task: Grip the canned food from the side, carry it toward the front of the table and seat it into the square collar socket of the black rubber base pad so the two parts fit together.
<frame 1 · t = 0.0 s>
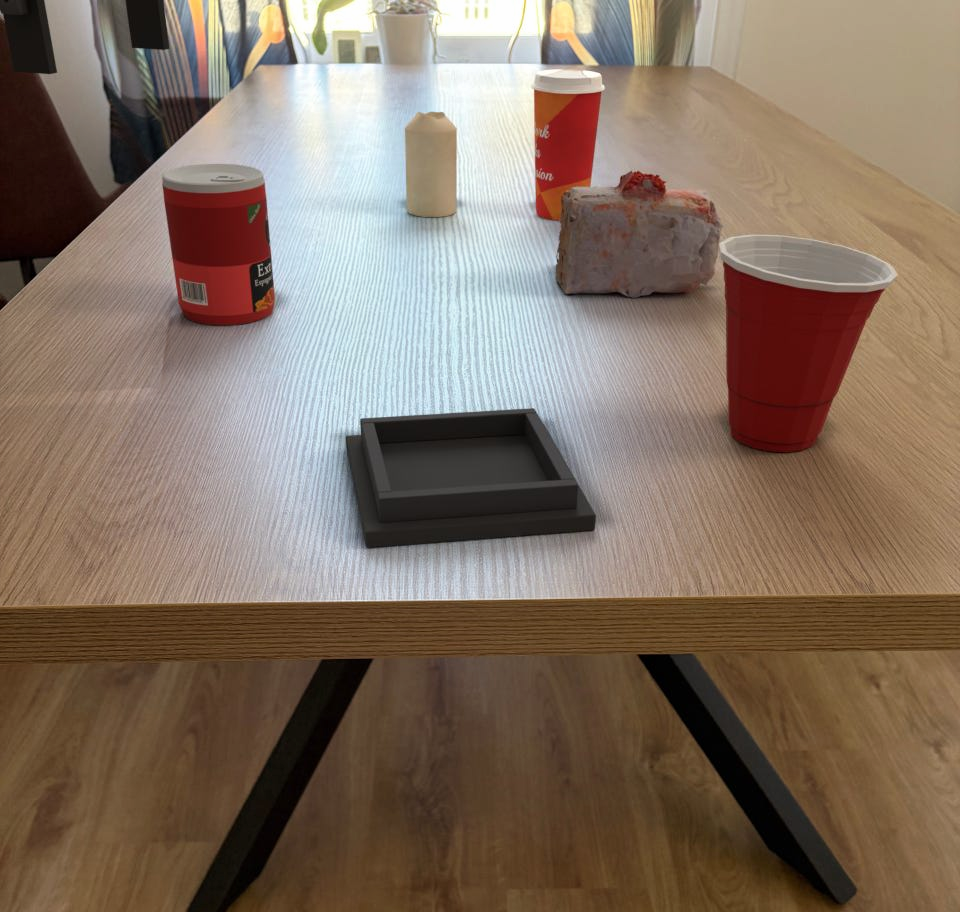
hand: (97, 60, 77), 20 cm above the table, tool pointing down, fingers open, 13 cm apart
base pad: (462, 487, 68), on the table
plastic cup: (775, 437, 75), on the table
paper cup: (561, 216, 124), on the table
canned food: (228, 314, 94), on the table
candle: (431, 213, 124), on the table
food item: (632, 289, 102), on the table
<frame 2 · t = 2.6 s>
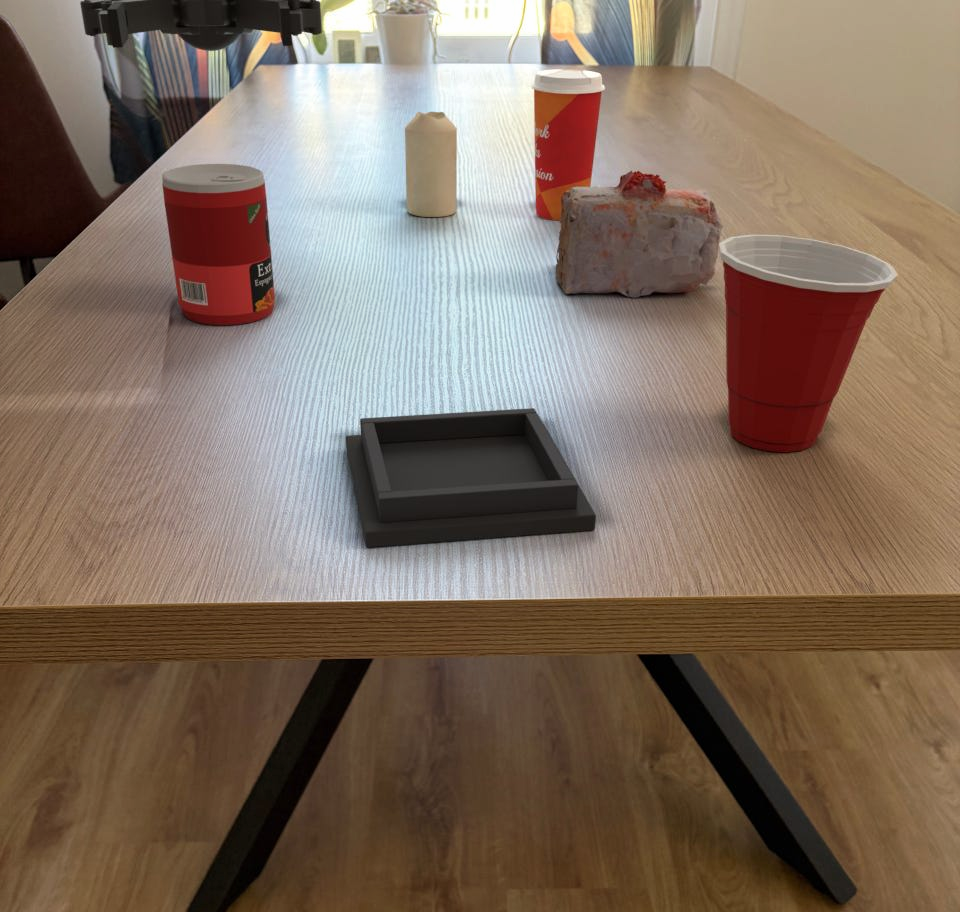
hand: (201, 28, 91), 20 cm above the table, tool horizontal, fingers open, 13 cm apart
nothing on the table moved.
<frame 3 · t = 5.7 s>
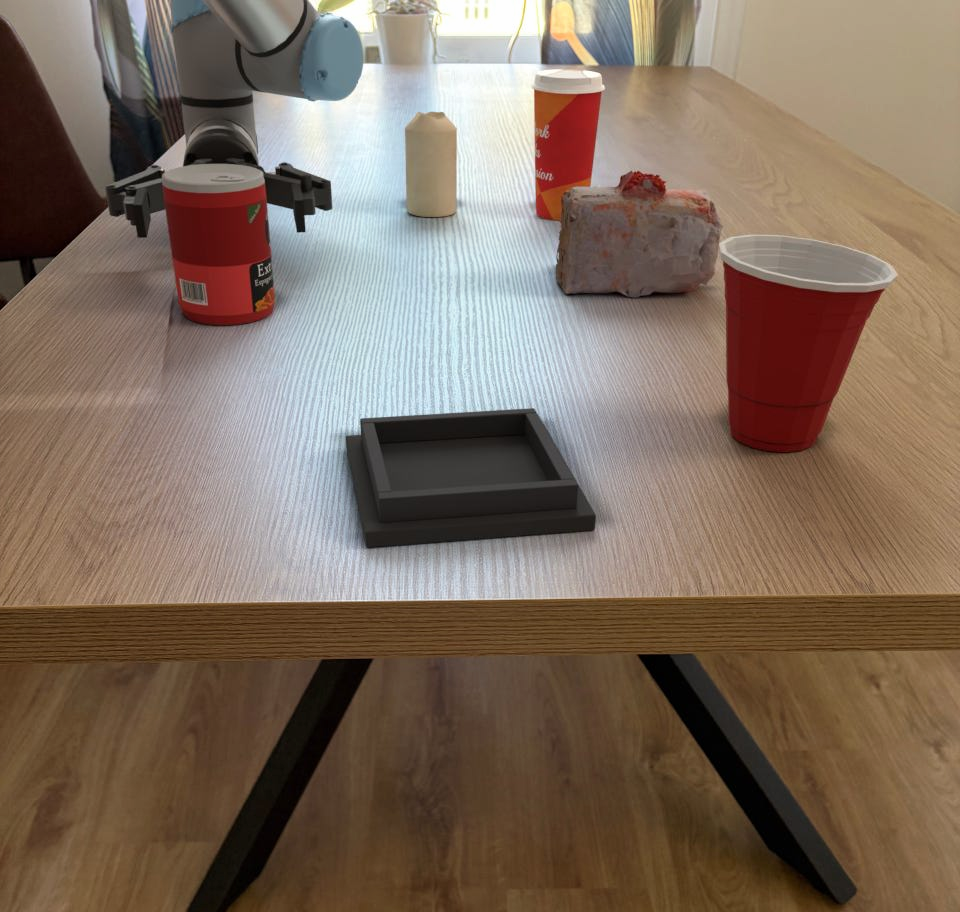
hand: (220, 219, 97), 6 cm above the table, tool horizontal, fingers open, 13 cm apart
nothing on the table moved.
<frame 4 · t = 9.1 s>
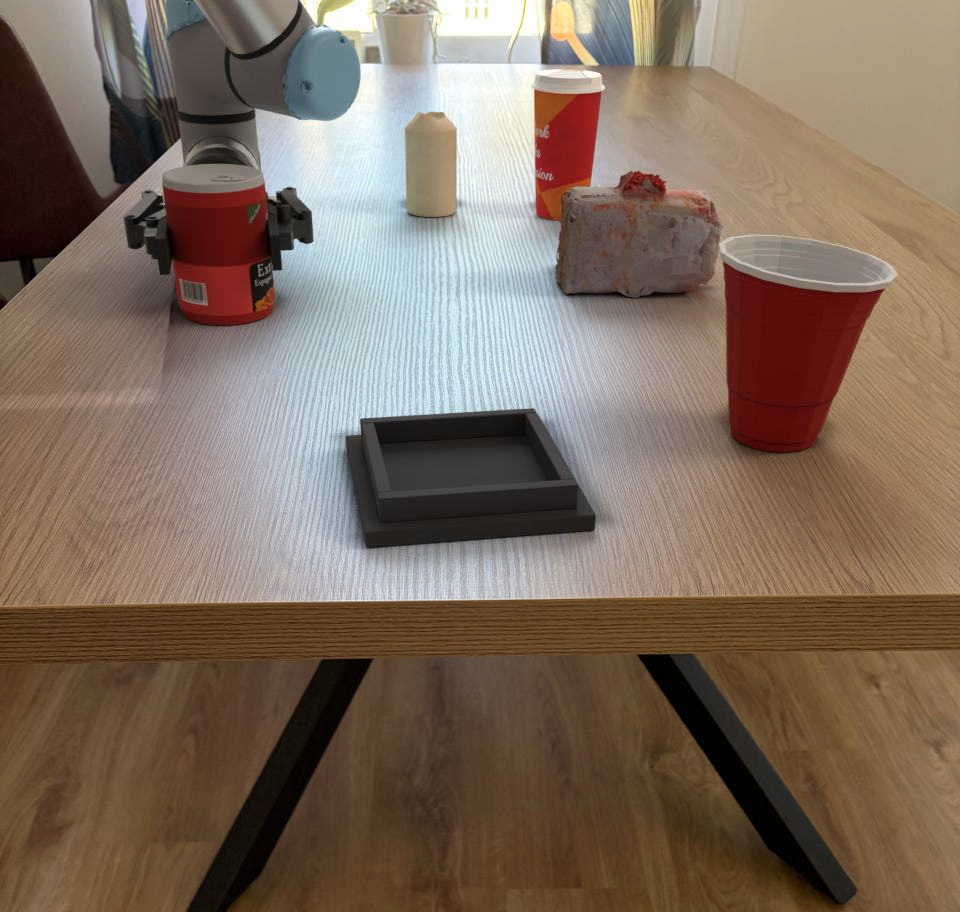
hand: (219, 255, 87), 6 cm above the table, tool horizontal, fingers closed on canned food, 8 cm apart
canned food: (228, 314, 94), on the table, touching gripper
everything else where it was.
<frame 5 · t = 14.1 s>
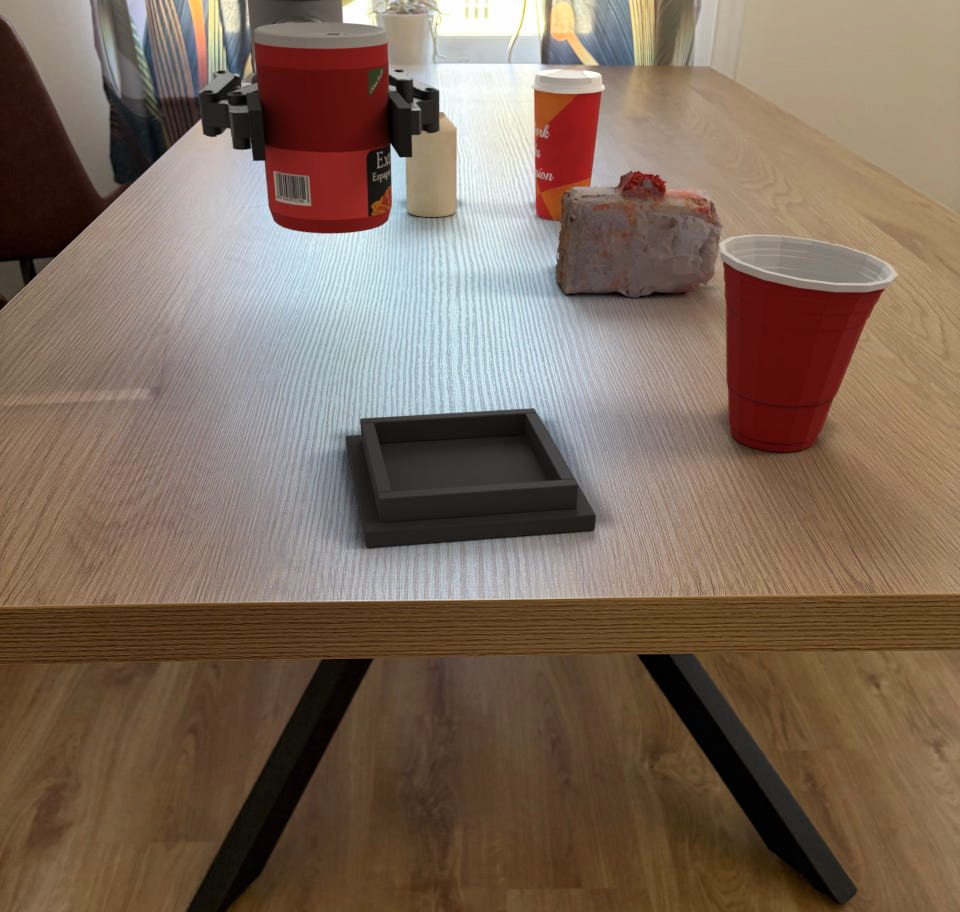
hand: (332, 134, 66), 18 cm above the table, tool horizontal, fingers closed on canned food, 8 cm apart
canned food: (331, 223, 73), point 12 cm above the table, touching gripper
everything else where it was.
when the fingers open (7 cm above the table, at t = 19.6 s): canned food stays where it is, resting on base pad.
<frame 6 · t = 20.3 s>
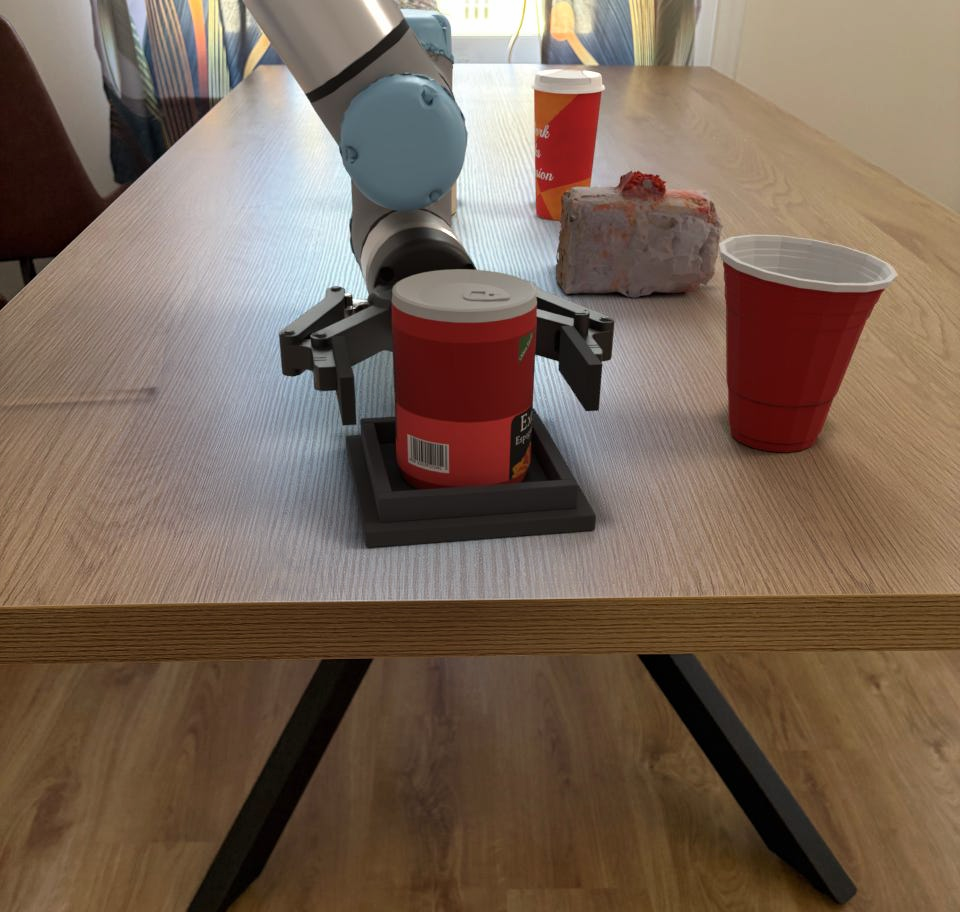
hand: (473, 395, 61), 7 cm above the table, tool horizontal, fingers open, 13 cm apart
canned food: (463, 475, 67), point 1 cm above the table, touching base pad
everything else where it was.
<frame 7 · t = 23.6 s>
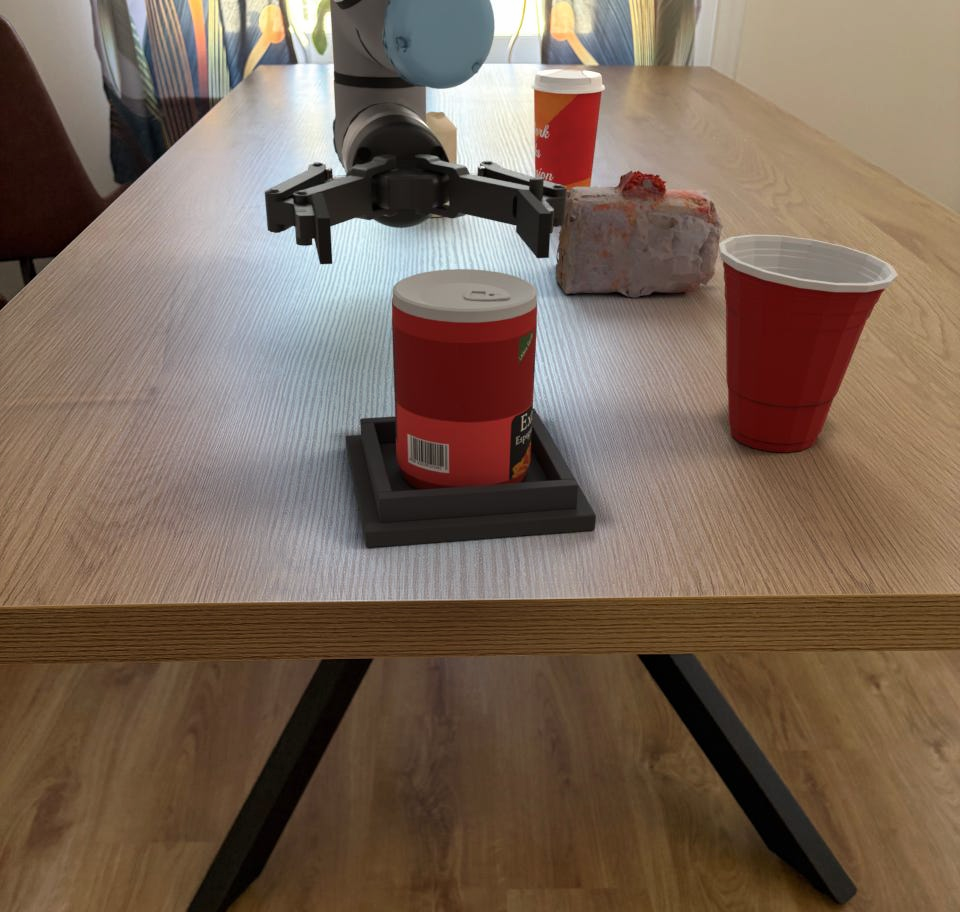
hand: (436, 238, 69), 12 cm above the table, tool horizontal, fingers open, 13 cm apart
nothing on the table moved.
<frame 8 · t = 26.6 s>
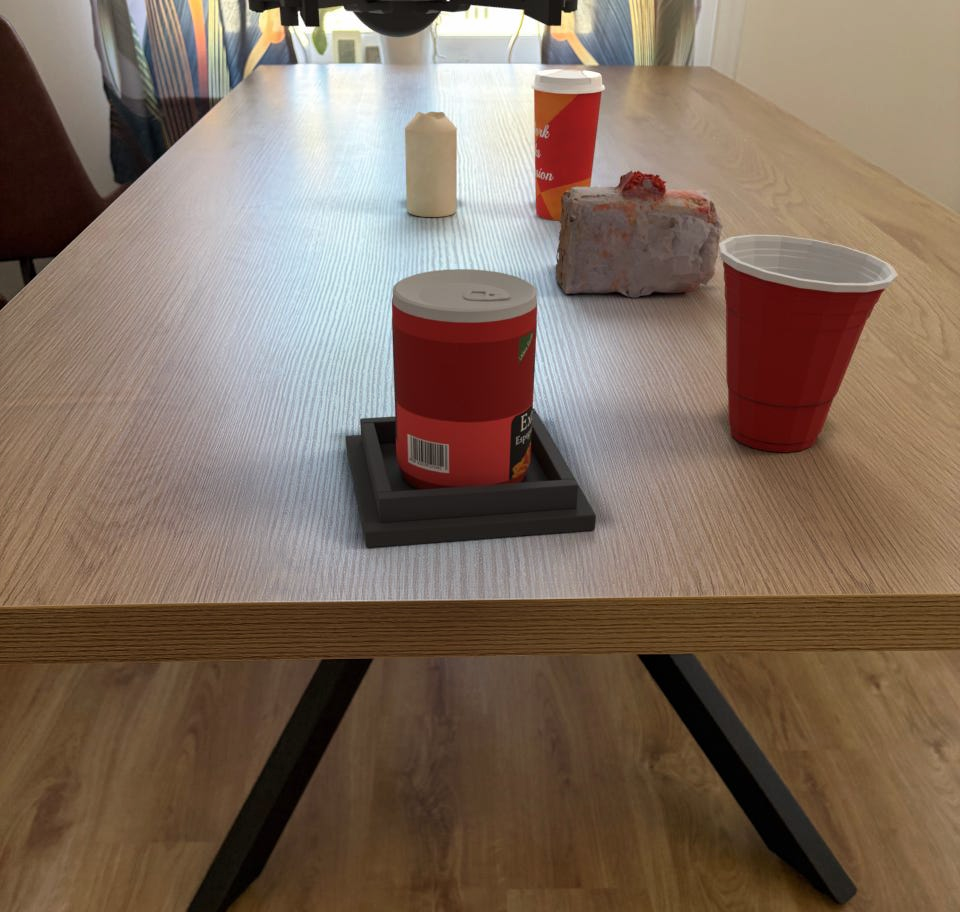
nothing on the table moved.
at the end: canned food 0.0 cm off-centre on the base pad, point 0.8 cm above the base pad's base; canned food tilted 0°; the gripper is holding nothing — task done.
